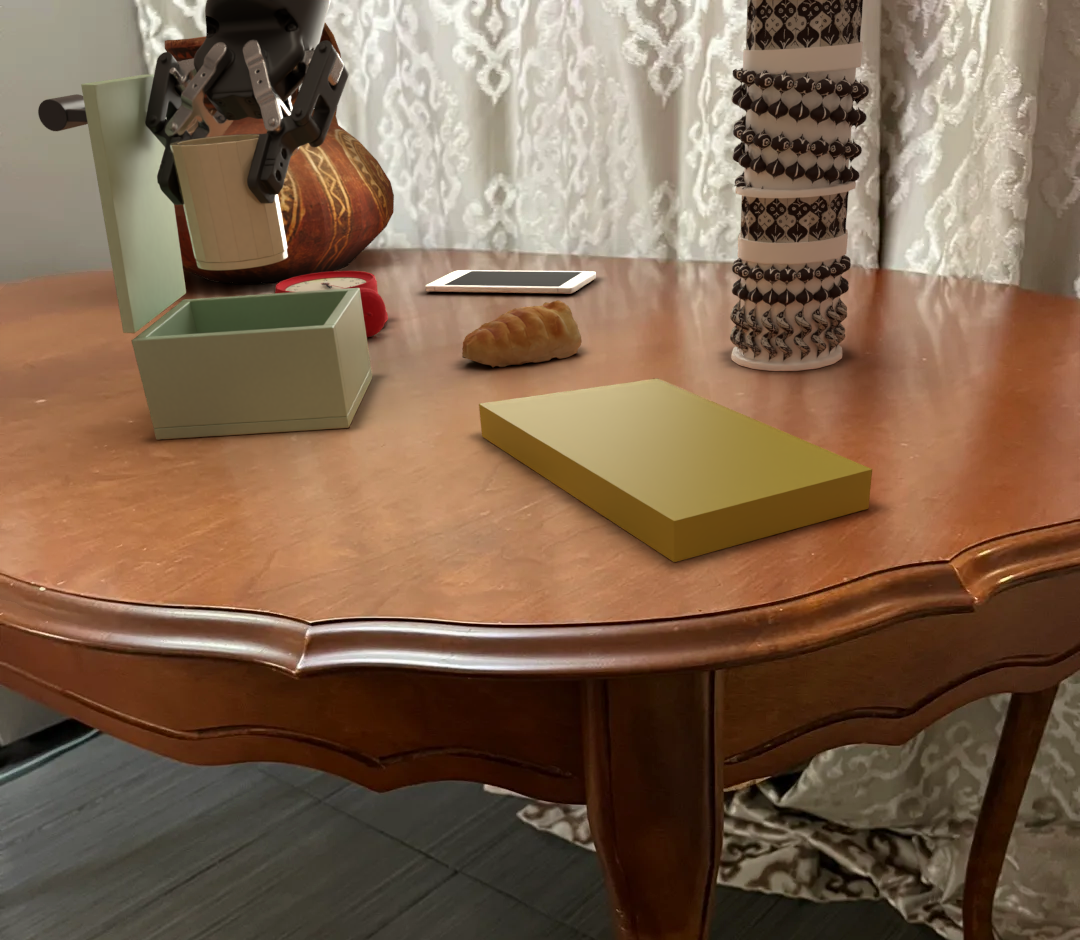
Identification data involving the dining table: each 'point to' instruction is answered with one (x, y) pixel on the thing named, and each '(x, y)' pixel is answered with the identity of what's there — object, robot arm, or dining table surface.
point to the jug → (307, 198)
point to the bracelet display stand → (795, 180)
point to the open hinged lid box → (255, 364)
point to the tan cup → (226, 204)
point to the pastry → (525, 336)
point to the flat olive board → (676, 464)
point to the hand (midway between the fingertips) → (215, 195)
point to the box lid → (128, 192)
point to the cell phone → (512, 281)
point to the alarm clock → (344, 280)
